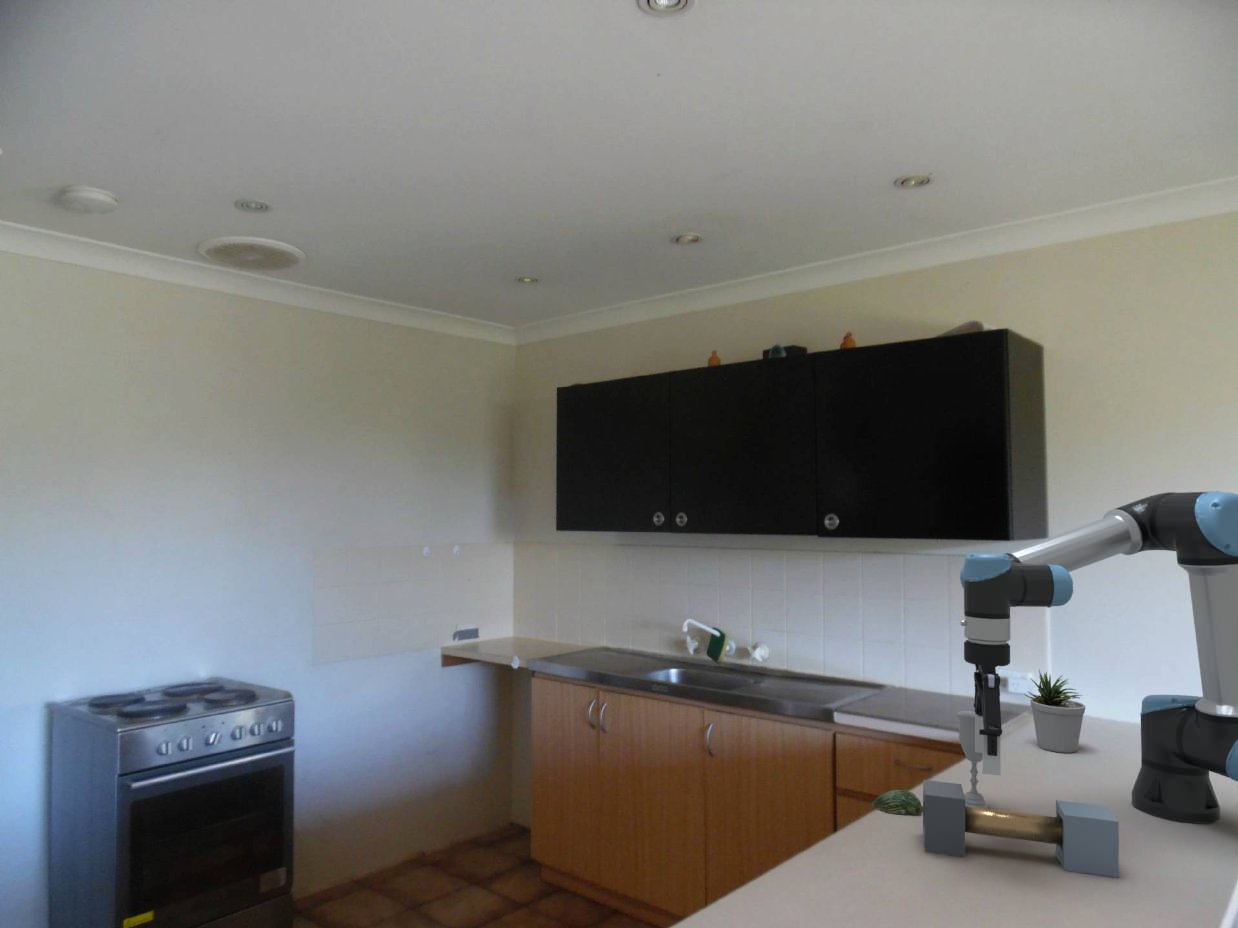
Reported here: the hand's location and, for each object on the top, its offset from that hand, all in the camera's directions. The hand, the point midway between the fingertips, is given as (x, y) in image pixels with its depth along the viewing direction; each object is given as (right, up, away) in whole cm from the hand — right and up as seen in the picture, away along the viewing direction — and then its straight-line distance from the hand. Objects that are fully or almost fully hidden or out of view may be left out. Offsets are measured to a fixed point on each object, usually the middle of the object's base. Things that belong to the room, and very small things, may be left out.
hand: (987, 762), depth 152 cm
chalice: (+7, -17, +23) cm, 29 cm away
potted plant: (+47, -20, +69) cm, 86 cm away
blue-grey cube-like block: (+14, -15, -6) cm, 22 cm away
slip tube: (+2, -12, -1) cm, 12 cm away
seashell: (-9, -16, +20) cm, 28 cm away
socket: (-7, -15, +1) cm, 17 cm away
